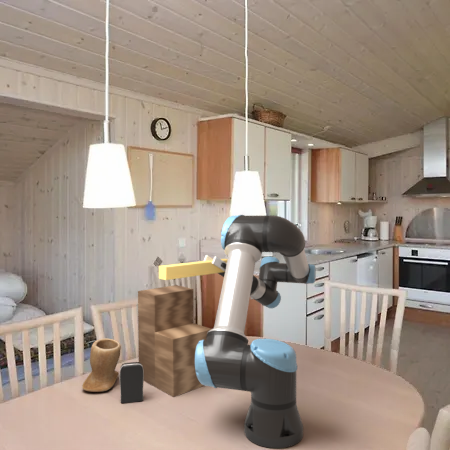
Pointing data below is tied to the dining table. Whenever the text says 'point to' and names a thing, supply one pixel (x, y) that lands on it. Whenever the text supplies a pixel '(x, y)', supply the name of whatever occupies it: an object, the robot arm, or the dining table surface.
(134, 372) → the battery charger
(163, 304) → the step shelf
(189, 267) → the bar
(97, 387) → the brown boot
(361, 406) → the dining table surface
